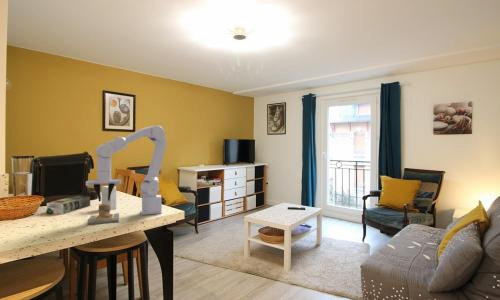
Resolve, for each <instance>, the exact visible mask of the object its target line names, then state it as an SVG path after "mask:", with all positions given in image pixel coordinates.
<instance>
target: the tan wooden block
mask: <svg viewBox="0 0 500 300" xmlns="http://www.w3.org/2000/svg"><path fill="white" fill-rule="evenodd" d="M110 214H111V210H110V203H107V204H102V203H99V204H98V215H99V219H104V218H110Z"/></svg>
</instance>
